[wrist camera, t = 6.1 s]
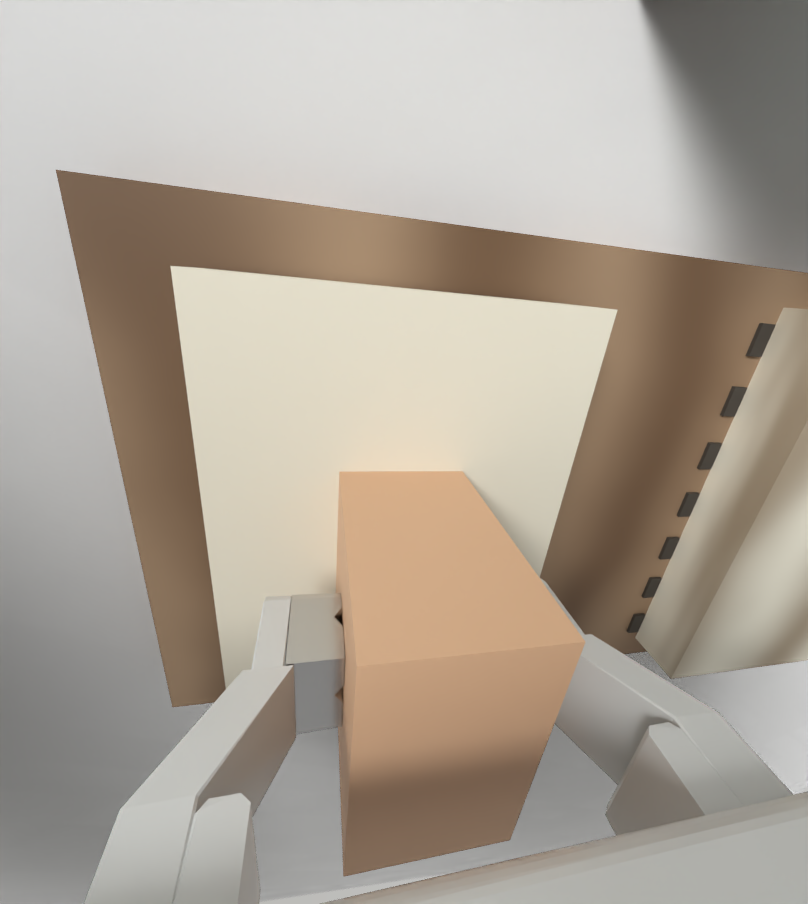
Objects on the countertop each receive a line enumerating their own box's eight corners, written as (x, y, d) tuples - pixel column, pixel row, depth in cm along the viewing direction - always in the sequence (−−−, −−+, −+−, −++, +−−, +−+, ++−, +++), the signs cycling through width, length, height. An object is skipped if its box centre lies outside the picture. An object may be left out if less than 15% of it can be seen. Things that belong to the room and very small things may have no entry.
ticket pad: (185, 669, 15) (150, 770, 12) (95, 185, 9) (-26, 136, 6) (793, 608, 22) (872, 664, 19) (988, 304, 15) (1158, 311, 12)
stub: (243, 675, 14) (177, 1013, 7) (202, 267, 9) (-128, 245, 2) (483, 650, 16) (592, 902, 9) (567, 303, 10) (934, 346, 4)
